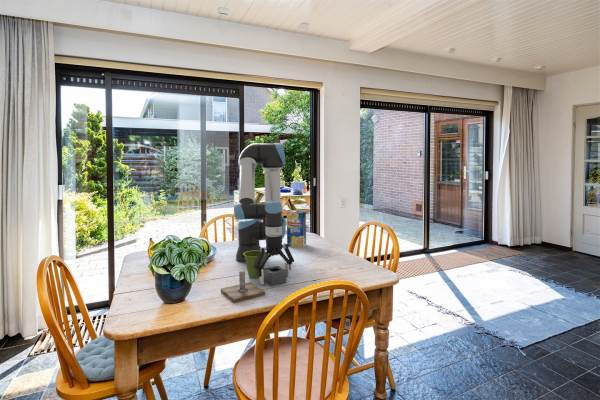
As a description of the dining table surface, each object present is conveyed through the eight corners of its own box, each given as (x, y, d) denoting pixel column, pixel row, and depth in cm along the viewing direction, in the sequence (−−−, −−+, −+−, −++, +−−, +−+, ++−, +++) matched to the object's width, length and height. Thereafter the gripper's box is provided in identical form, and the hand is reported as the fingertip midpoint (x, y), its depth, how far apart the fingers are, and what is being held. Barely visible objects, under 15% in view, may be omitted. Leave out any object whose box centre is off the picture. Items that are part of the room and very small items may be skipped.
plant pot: (264, 280, 169) (264, 257, 167) (240, 279, 171) (239, 256, 169) (270, 272, 180) (270, 250, 179) (248, 271, 182) (247, 249, 181)
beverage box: (290, 243, 237) (290, 210, 234) (306, 244, 234) (306, 211, 231) (286, 246, 231) (286, 212, 228) (303, 247, 227) (303, 213, 225)
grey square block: (263, 281, 167) (262, 268, 167) (277, 278, 172) (277, 265, 171) (271, 286, 161) (271, 273, 160) (286, 282, 165) (286, 270, 164)
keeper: (220, 291, 155) (220, 270, 154) (250, 285, 163) (249, 264, 161) (234, 302, 143) (233, 280, 142) (265, 295, 151) (264, 273, 150)
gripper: (252, 240, 153) (254, 288, 156) (301, 233, 167) (301, 277, 170) (245, 237, 160) (246, 283, 162) (292, 230, 173) (293, 273, 176)
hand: (274, 280), depth 166 cm, fingers open, 13 cm apart
